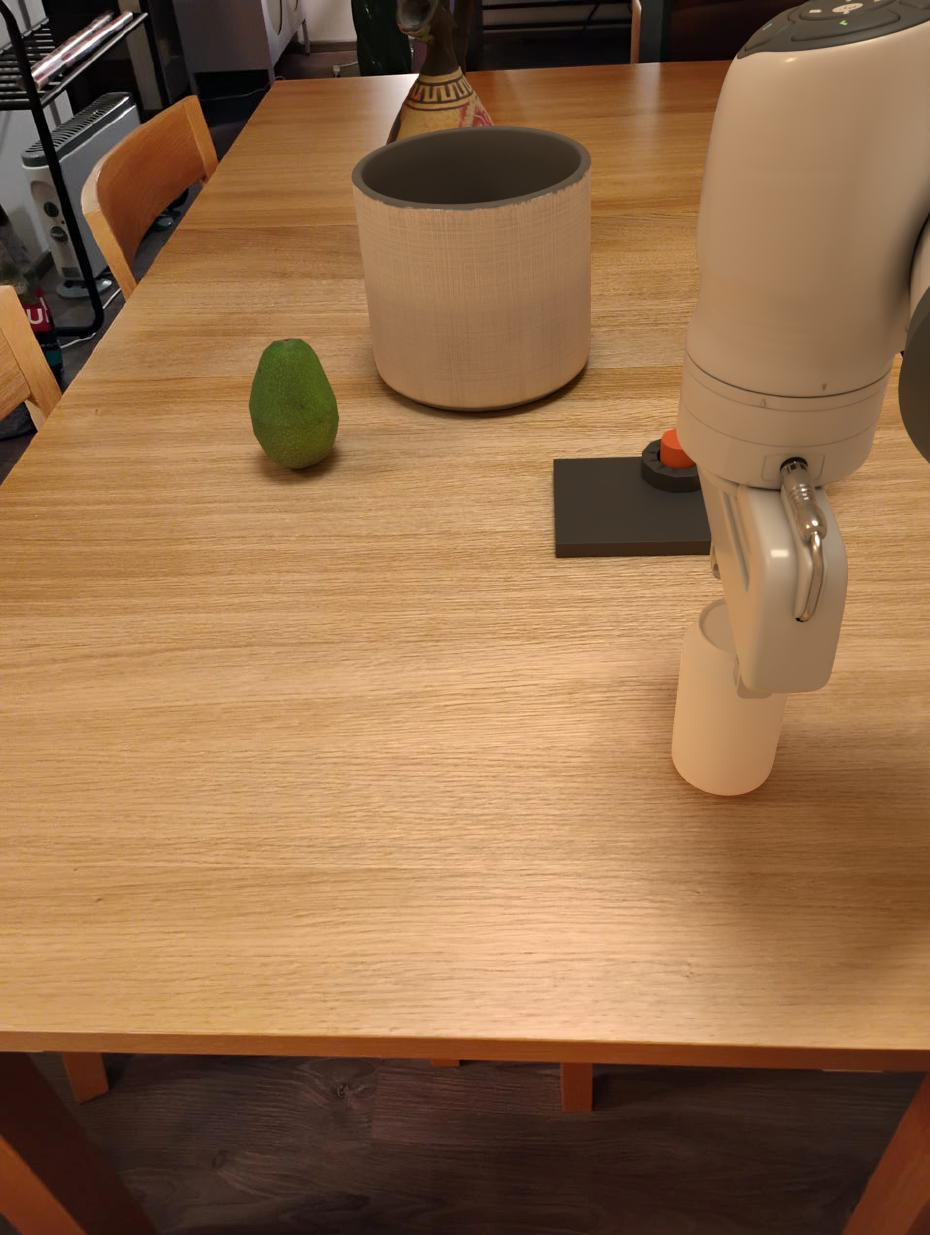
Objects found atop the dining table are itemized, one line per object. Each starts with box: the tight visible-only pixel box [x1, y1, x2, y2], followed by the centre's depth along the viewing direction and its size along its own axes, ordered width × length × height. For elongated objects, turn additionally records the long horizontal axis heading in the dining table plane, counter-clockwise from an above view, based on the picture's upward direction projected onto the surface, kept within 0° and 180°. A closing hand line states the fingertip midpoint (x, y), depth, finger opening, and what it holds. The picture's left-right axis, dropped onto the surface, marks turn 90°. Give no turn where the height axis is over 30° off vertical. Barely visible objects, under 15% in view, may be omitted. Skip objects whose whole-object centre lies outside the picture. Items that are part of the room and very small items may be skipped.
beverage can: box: [671, 597, 790, 796], centre depth 59 cm, size 6×6×12 cm
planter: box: [351, 125, 592, 413], centre depth 96 cm, size 22×22×20 cm
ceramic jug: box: [385, 0, 495, 145], centre depth 117 cm, size 17×15×30 cm
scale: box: [552, 438, 712, 558], centre depth 82 cm, size 14×12×3 cm
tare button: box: [660, 428, 696, 469], centre depth 83 cm, size 3×3×2 cm
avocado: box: [248, 338, 340, 470], centre depth 88 cm, size 8×8×12 cm
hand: (737, 626), depth 55 cm, fingers open, 8 cm apart
